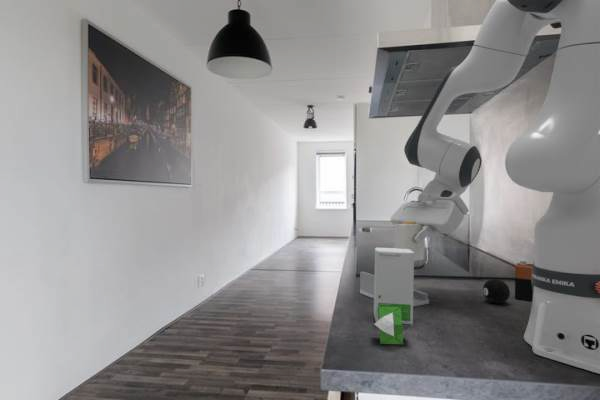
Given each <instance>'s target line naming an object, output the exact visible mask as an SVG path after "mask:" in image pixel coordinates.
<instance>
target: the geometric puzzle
mask: <svg viewBox="0 0 600 400" xmlns="http://www.w3.org/2000/svg"><path fill="white" fill-rule="evenodd" d="M378 308H379V320H378V321H377V322H376V321H375V319H376V318H374V319H373V321H372V322H373V323H372V324H371V327H372V328H373V330H374V332H375V334H376V336H377V338H378V341H379V344H380V345H381V344H382V345H383V344H384V345H403V346H404V344H405V340H406V338H407V333H409V331H410V330H408V332H407V331H406V330H407V329H408V328H411V327H412V324H404V323H403V324H402V316H401V309H402V308H401V307H391V306H379V307H378ZM377 312H378V311H377ZM377 312H376V313H377ZM403 312H404V311H402V313H403ZM375 316H376V315H375ZM403 316H404V315H403ZM404 319H405V318H404ZM404 321H405V320H404ZM408 321H409V320H408ZM405 322H406V321H405ZM407 323H408V322H407ZM374 328H375V329H374ZM377 330H378V331H379V334H378V331H377ZM404 330H405V332H404ZM403 332H404V333H405V334H403ZM378 335H379V336H378ZM404 335H405V336H404Z"/></svg>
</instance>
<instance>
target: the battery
mask: <svg viewBox="0 0 600 400" xmlns="http://www.w3.org/2000/svg"><path fill="white" fill-rule="evenodd" d="M533 265H534V261H533V263H527V261H522V260H520V261H519V262H517V263H516V265H515V266H514V298H515V300H516V299H517V300H520V301H528V302H532V300H533V291H532V285H531V274H532V266H533Z"/></svg>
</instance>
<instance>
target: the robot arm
mask: <svg viewBox="0 0 600 400" xmlns="http://www.w3.org/2000/svg"><path fill="white" fill-rule="evenodd" d="M548 25H549V26H551V27H552V28H553V29H561V30H560V37H559V40H558V41H559V42H558V46H557V49H556V50H557V51H556V56H555V59H554V60H555V61H554V65H553V70H552V75H551V78H550V82H549V87H548V91H547V93H546V96H545V100H544V102H543V105H542V107H541V108H540V110H539V111H538V113H537V116H536V117H535V119H534V121H533V122H532V123H531V125H530V126H529V128H527V130H526V131H525V132H524V133H523V134H521V135H520V136H519V137H517V138H516V139H515V140H514V141H513V142H511V144H510V146H509V147H508V149H507V152H506V155H505V160H504V161H505V163H504V164H505V171H506V173H507V175H508V177H509V179H510V181H512V182H513V183H515V184H516V185H517V186H519V187H523V188H526V189H529V190H533V191H536V192H539V193H552V197H551V199H550V203H549V205H548V208H547V210H546V211H545V212H544V214H543V215H542V216H541V217H540V218H539V219H538V221H536V224H535V227H534V258H533V259H534V261H533V262H534V265H533V266H532V274H531V285H532V291H533V300H532V301H531V307H530V313H529V319H528V323H527V326H526V329H525V332H524V334H523V340H524V341H525V342H526V343H527V344H529V345H530V346H531V347H532V353H533V354H535V355H538V356H541V357H543V358H546V359H550V360H553V361H556V362H558V363H559V362H560V363H563V364H566V365H569V366H573V367H576V368H579V369H583V370H586V371H590V372H592V373H594V374H595V373H596V374H599V375H600V0H495V2H494V3H492V6H491V8H490V9H489V11H488V13H487V15H486V16H485V18H484V19H483V22H482V24H481V26H480V29H479V30H478V32H477V35H476V37H475V38H474V39H475V40H474V42H473V45H472V47H471V50H470V52H469V53H468V55H467V56H466V58H465V59H464V60H463V61H462V62H461V63H460V64H458V65H455V66H453V67H451V68H450V69H449V70H448V71H447V73H446V74H445V75H444V77H443V78H442V80H441V82H440V83H439V85H438V87H437V88H436V90H435V92H434V94H433V95H432V98H431V99H430V101H429V103H428V105H427V107H426V109H425V110H424V113H423V114H422V116H421V118H420V120H419V122H418V124H417V125H416V127H415V128H414V129H413V131H412V132H411V134H410V136H409V137H408V139H407V140H406V143H405V145H404V148H403V150H404V155H405V158H406V159H407V161H408V163H409V164H410V165H412V166H417V167H419V168H423V169H426V170H428V171H431V172H434V173H435V175H434V176H433V178H432V180H431V181H429V182H428V183H427V185H426V186H425V187H424V188H423V190H422V191H421V193H419V195H418V196H417V200H410V201H407V202H404V203H403V204H401V205H400V207H399V208H397V210H396V211H395V212H394V213H393V214H392V215H391V217H390V223H392V225H393V226H394V227H395V224H403V222H408V221H412V222H415V224H422V225H424V226H423V227H422V229H423V230H421V231H420V232H419V233H418V234H414V236H413V237H412V240H413V241H414V243H420V242H421V241H422V240H423V239H424V240H425V238H427V237H429V236H431V234H433V233H436V234H444V235H445V234H447V235H450V234H452V233H454V232H456V231H457V229H458V228H459V226H460V225H461V223H462V222H463V220H464V216H465V215H467V214H468V213H469V211H470V210H469V207H468V206H467V205H466V203H465V202H464V200H463V199H462V197H461V195H462V194H464V193H465V192H466V191H467V190H468V188H469V186H470V185H471V184H472V183H473V181H474V180H475V178H476V177H477V175H478V173H479V171H480V170H481V168H482V167H481V166H482V156H481V153H480V151H479V149H478V147H477V145H473V144H472V143H469V142H466V141H463V140H460V139H457V138H454V137H451V136H448V135H446V134H443V133H440V132H439V131H438V126H439V125H440V122H441V121H442V119H443V117H444V116H445V114H446V113H447V110H448V109H449V107H450V105H451V104H452V102H453V101H454V100H455V99H456V98H458V97H460V96H462V95H466V94H468V95H469V94H477V93H487V92H493V91H496V90H500V89H503V88H505V87H506V86H507V85H509V84H510V83H511V82H512V81H514V80H515V78H516V77H517V76H518V74H519V72H520V70H521V68H522V67H523V64H524V62H525V60H526V58H527V55H528V53H529V51H530V48H531V46H532V43H533V41H534V39H535V38H536V36H537V34H538V33H539V32H540V31H541V30H542V29H543V28H545V27H546V26H548Z"/></svg>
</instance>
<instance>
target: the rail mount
mask: <svg viewBox="0 0 600 400" xmlns="http://www.w3.org/2000/svg"><path fill="white" fill-rule="evenodd" d="M359 294H361V295H363V296H366V297H369V298H371V299H373V300H374V274H372V273H369V272H366V271H360V272H359ZM428 295H429V294H428V293H426V292H423V291H420V290H416V289H414V288H413V307H417V306H423V305H428V304H430V299H429V297H428Z"/></svg>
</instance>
